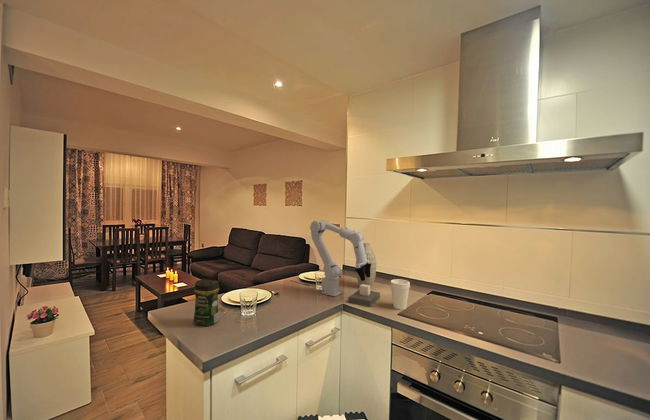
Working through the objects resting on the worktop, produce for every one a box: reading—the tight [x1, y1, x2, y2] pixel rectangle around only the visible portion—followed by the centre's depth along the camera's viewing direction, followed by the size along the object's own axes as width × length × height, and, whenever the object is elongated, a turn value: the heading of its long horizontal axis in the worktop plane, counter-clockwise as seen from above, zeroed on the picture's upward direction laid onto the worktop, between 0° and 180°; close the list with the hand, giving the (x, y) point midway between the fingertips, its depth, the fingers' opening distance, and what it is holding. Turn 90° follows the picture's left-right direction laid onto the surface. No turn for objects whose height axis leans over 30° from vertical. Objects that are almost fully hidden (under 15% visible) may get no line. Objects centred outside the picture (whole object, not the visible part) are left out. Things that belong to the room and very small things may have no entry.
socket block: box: [348, 288, 381, 308], centre depth 146 cm, size 12×16×3 cm
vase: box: [355, 242, 377, 289], centre depth 169 cm, size 13×13×28 cm
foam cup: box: [390, 278, 411, 310], centre depth 136 cm, size 10×9×13 cm
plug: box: [359, 284, 371, 296], centre depth 146 cm, size 5×3×8 cm
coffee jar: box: [193, 278, 220, 327], centre depth 115 cm, size 10×8×19 cm
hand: (366, 278), depth 145 cm, fingers open, 7 cm apart
